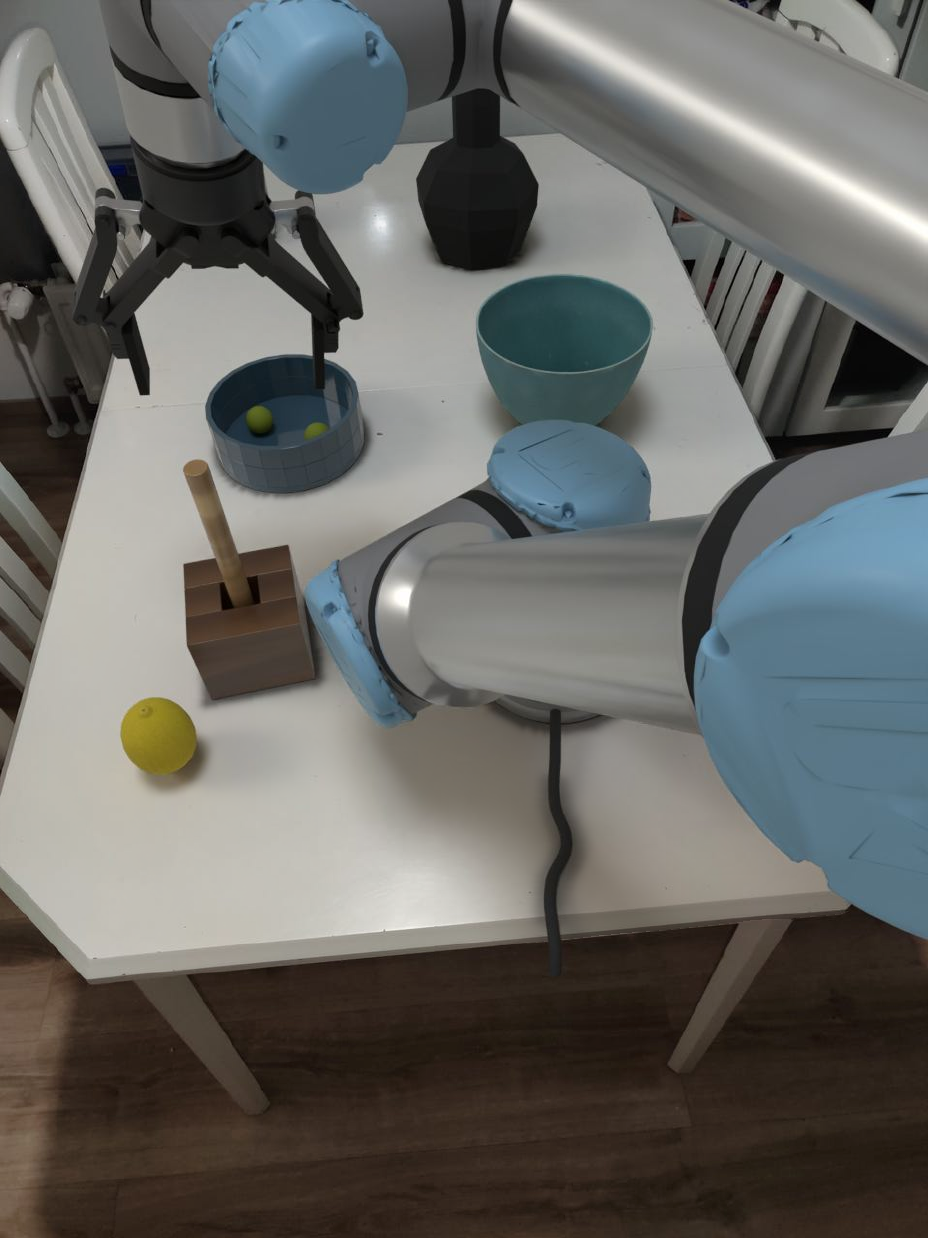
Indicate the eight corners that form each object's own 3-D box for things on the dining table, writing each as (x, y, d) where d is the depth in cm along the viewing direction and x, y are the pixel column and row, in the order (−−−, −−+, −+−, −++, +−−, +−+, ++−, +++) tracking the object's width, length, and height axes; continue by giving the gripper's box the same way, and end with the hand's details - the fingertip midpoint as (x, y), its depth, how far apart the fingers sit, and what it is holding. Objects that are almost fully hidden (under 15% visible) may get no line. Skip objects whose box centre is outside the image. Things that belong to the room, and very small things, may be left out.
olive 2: (335, 453, 95) (331, 431, 92) (308, 458, 94) (303, 436, 92) (332, 436, 97) (328, 414, 94) (305, 440, 96) (300, 419, 94)
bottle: (430, 217, 128) (416, -28, 104) (541, 223, 126) (552, -25, 103) (409, 275, 118) (389, 19, 95) (529, 282, 116) (539, 23, 93)
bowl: (375, 478, 93) (369, 434, 89) (223, 504, 91) (209, 461, 87) (352, 387, 103) (346, 344, 98) (215, 410, 101) (201, 366, 96)
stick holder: (315, 678, 77) (300, 623, 71) (211, 700, 76) (186, 645, 70) (303, 601, 83) (288, 544, 77) (206, 620, 82) (182, 563, 75)
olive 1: (276, 436, 97) (271, 415, 94) (249, 441, 96) (243, 419, 94) (274, 420, 99) (269, 398, 96) (247, 424, 98) (241, 402, 96)
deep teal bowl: (448, 398, 101) (444, 303, 92) (578, 350, 107) (587, 255, 97) (531, 490, 92) (536, 395, 82) (669, 432, 97) (689, 336, 87)
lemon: (126, 770, 72) (91, 719, 66) (174, 721, 75) (145, 668, 69) (173, 803, 70) (142, 754, 64) (221, 752, 73) (195, 700, 67)
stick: (270, 654, 79) (208, 473, 62) (250, 658, 79) (183, 477, 62) (268, 639, 80) (207, 456, 63) (249, 643, 80) (182, 461, 63)
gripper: (398, 94, 55) (382, 339, 74) (-30, 82, 50) (70, 347, 69) (413, 174, 52) (393, 409, 70) (-42, 169, 47) (66, 422, 66)
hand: (233, 379), depth 70 cm, fingers open, 13 cm apart
